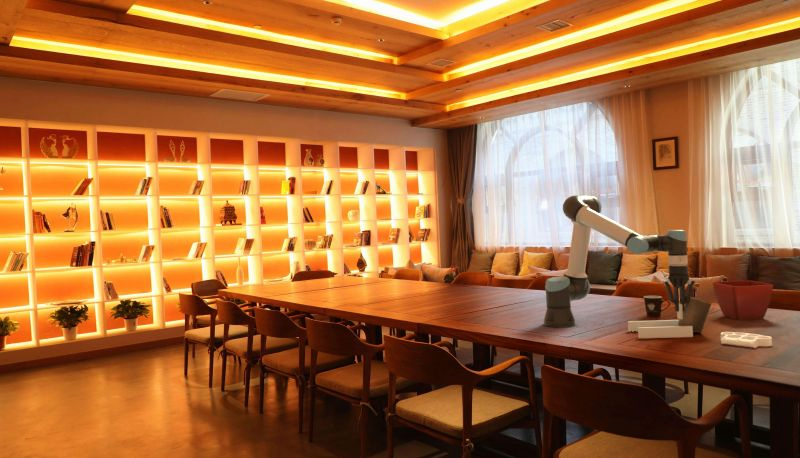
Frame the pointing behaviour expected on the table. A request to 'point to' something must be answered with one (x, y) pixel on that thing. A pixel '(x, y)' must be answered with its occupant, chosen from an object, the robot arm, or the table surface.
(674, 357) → the table surface
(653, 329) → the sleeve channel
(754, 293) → the plant pot
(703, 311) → the pillar candle
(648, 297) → the coffee mug
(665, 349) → the table surface
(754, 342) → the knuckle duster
